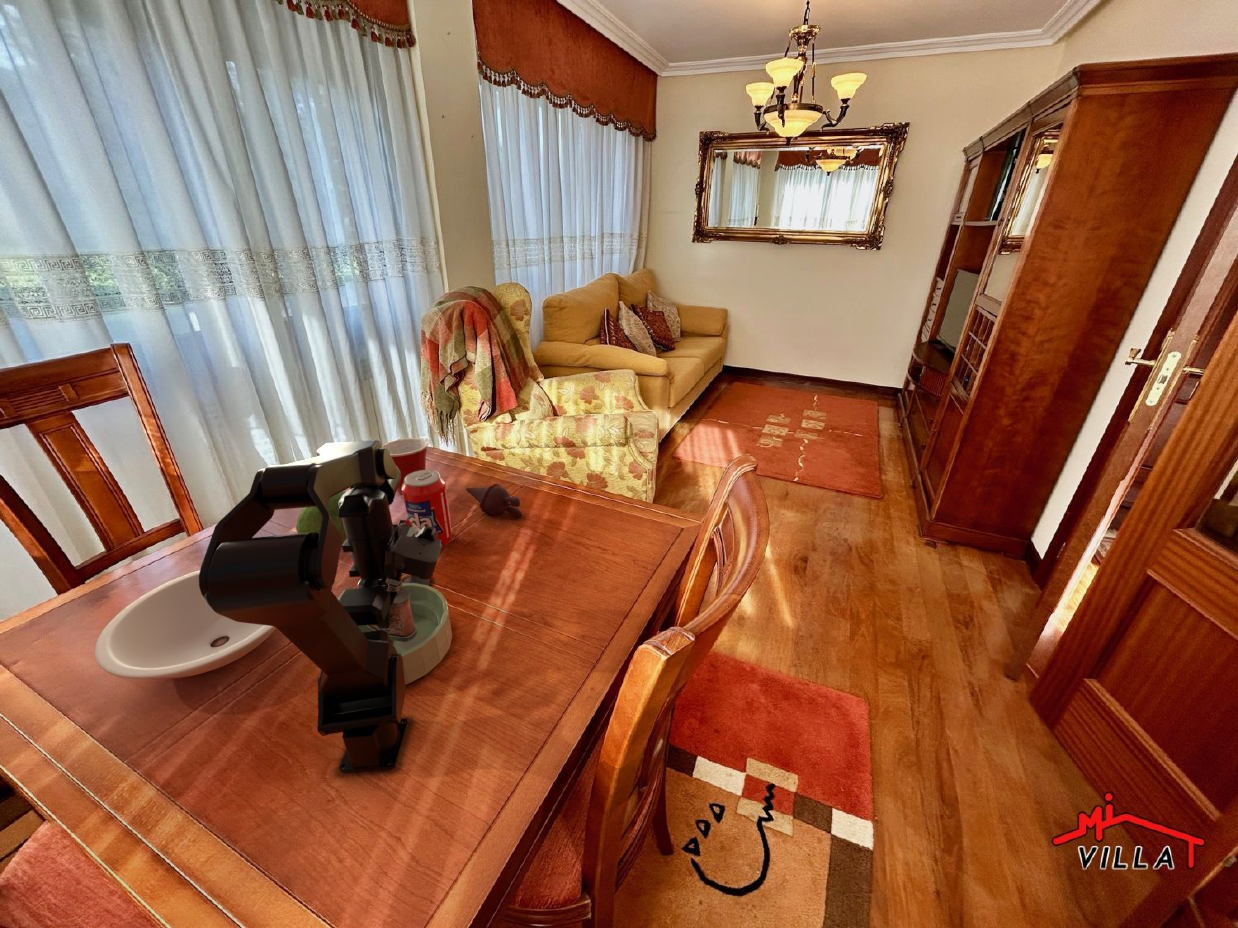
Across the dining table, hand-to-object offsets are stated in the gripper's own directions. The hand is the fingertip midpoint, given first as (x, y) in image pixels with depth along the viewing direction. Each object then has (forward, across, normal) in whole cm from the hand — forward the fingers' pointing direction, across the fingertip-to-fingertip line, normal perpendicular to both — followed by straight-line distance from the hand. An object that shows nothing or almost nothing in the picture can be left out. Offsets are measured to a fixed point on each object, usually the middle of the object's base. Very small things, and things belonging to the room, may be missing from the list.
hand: (389, 616), depth 74 cm
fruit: (+6, +31, +20) cm, 38 cm away
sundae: (+7, +15, +1) cm, 17 cm away
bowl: (+6, 0, 0) cm, 7 cm away
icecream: (+6, +39, -10) cm, 41 cm away
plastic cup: (+6, +50, +11) cm, 52 cm away
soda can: (+7, +28, +1) cm, 29 cm away
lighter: (+3, 0, 0) cm, 3 cm away
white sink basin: (+7, +3, +27) cm, 28 cm away
